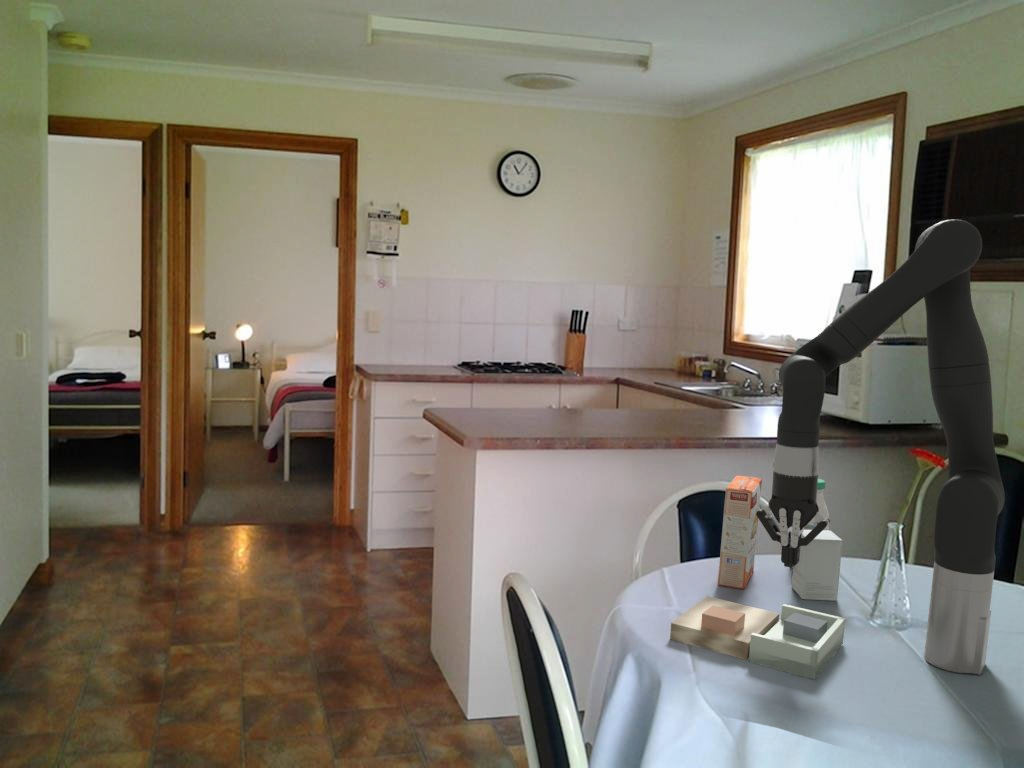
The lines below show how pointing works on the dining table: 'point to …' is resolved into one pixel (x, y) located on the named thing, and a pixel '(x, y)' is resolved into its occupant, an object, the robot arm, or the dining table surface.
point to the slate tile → (805, 627)
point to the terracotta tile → (723, 620)
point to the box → (797, 645)
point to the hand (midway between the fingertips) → (789, 566)
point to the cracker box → (739, 531)
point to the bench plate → (737, 646)
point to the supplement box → (818, 567)
